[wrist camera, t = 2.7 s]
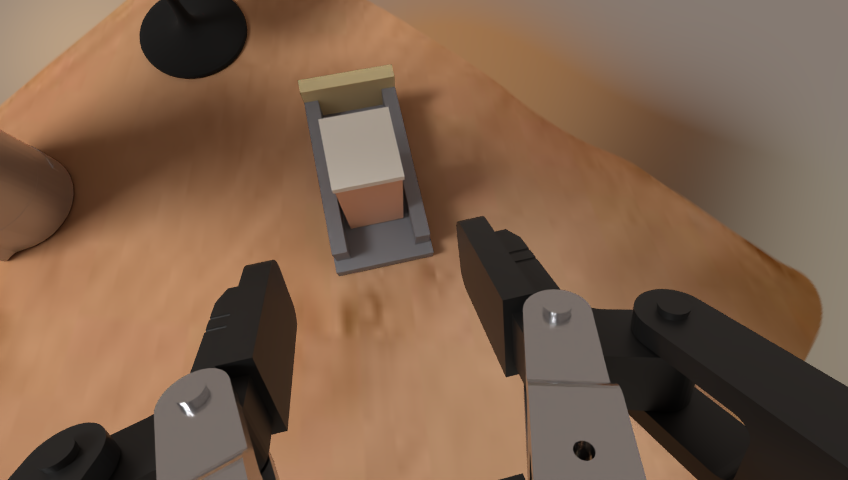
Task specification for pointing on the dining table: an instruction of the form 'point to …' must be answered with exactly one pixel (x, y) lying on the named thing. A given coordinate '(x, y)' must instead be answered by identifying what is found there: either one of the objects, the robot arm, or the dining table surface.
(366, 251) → the key track
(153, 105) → the dining table surface
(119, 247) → the dining table surface
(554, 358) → the robot arm
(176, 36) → the wine glass
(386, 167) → the block
